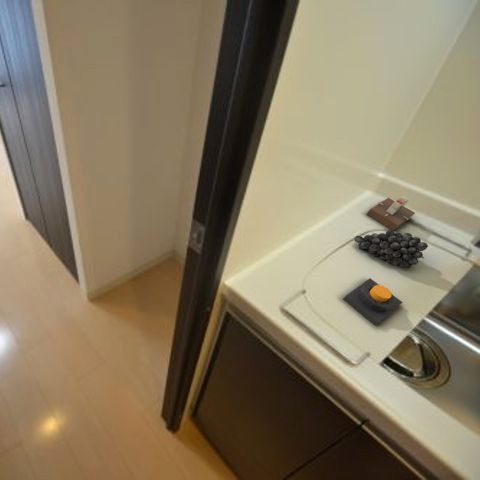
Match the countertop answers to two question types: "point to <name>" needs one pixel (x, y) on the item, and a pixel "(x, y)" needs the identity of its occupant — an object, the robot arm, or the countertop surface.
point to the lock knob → (397, 205)
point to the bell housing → (370, 302)
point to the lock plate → (387, 219)
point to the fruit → (393, 247)
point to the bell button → (380, 293)
